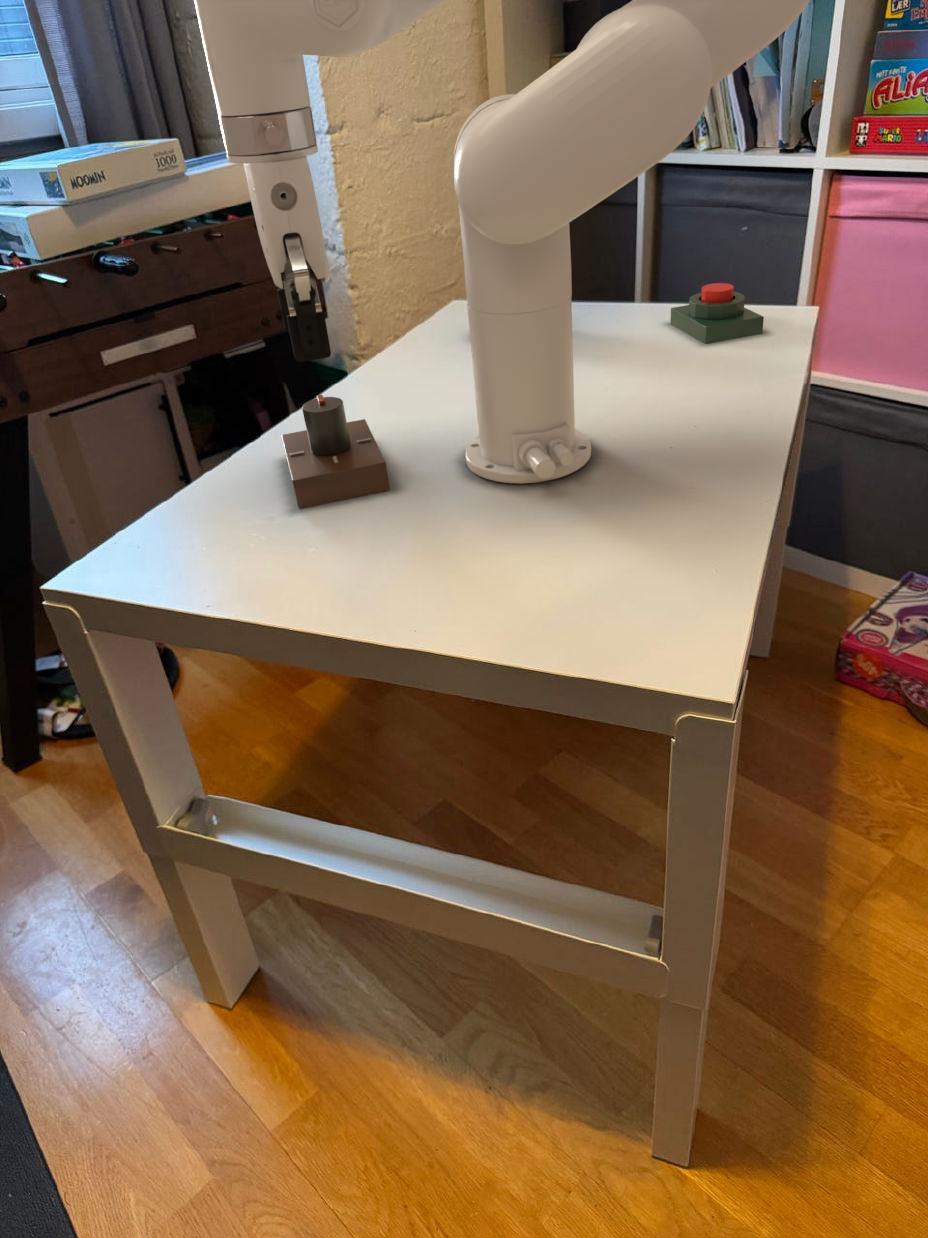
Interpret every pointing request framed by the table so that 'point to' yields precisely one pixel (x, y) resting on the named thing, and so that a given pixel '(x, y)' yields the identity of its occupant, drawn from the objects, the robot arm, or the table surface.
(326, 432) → the dial
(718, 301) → the button
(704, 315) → the button housing
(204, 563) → the table surface
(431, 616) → the table surface
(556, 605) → the table surface
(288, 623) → the table surface
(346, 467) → the control panel
